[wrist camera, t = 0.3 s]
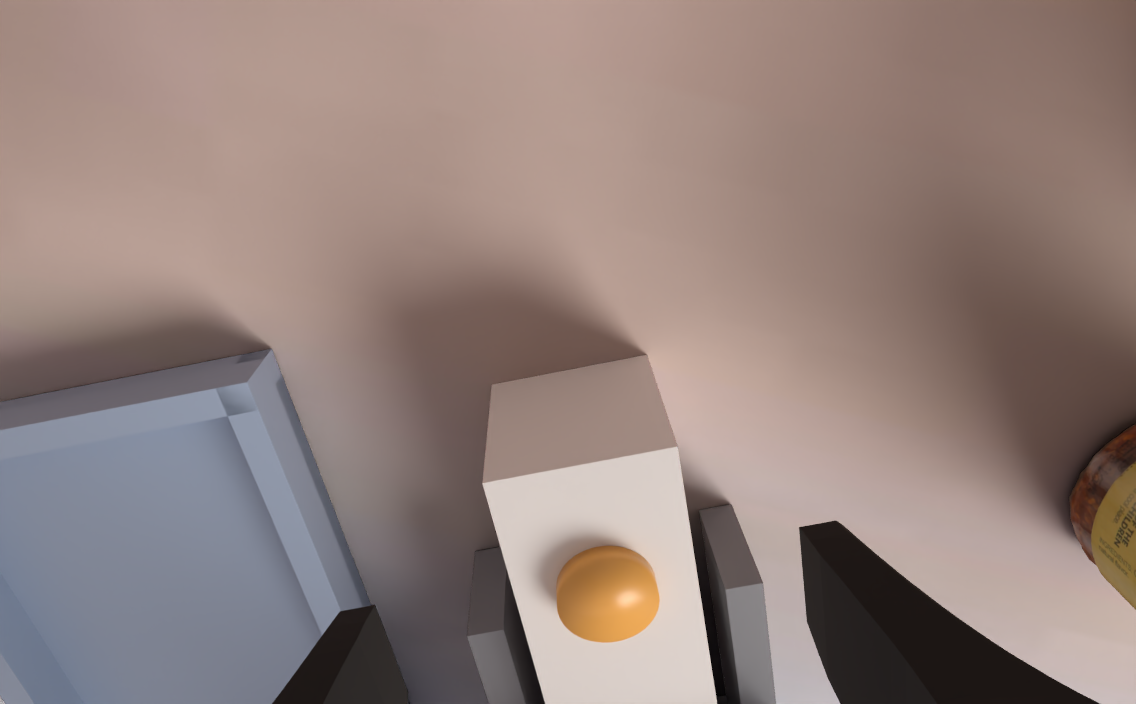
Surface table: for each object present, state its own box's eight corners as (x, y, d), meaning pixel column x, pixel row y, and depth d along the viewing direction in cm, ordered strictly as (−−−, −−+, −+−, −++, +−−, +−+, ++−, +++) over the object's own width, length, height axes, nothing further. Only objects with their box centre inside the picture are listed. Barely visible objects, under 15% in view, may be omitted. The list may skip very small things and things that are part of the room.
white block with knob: (690, 620, 26) (729, 773, 21) (560, 643, 26) (568, 801, 21) (646, 352, 22) (682, 461, 16) (491, 381, 22) (481, 499, 17)
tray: (424, 744, 27) (417, 797, 25) (135, 794, 28) (107, 850, 26) (271, 348, 21) (247, 382, 19) (-103, 422, 21) (-163, 461, 19)
